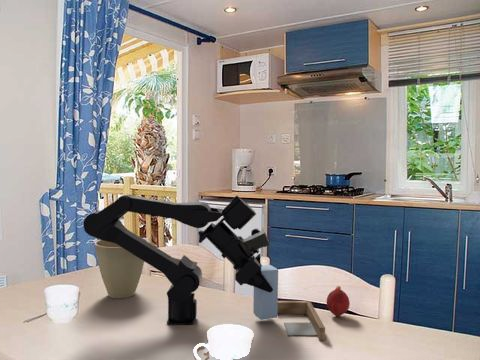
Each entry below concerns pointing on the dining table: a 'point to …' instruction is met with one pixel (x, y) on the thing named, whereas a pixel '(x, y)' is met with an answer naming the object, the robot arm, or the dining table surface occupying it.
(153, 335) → the dining table surface
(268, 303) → the block
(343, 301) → the onion
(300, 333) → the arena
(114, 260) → the plant pot
